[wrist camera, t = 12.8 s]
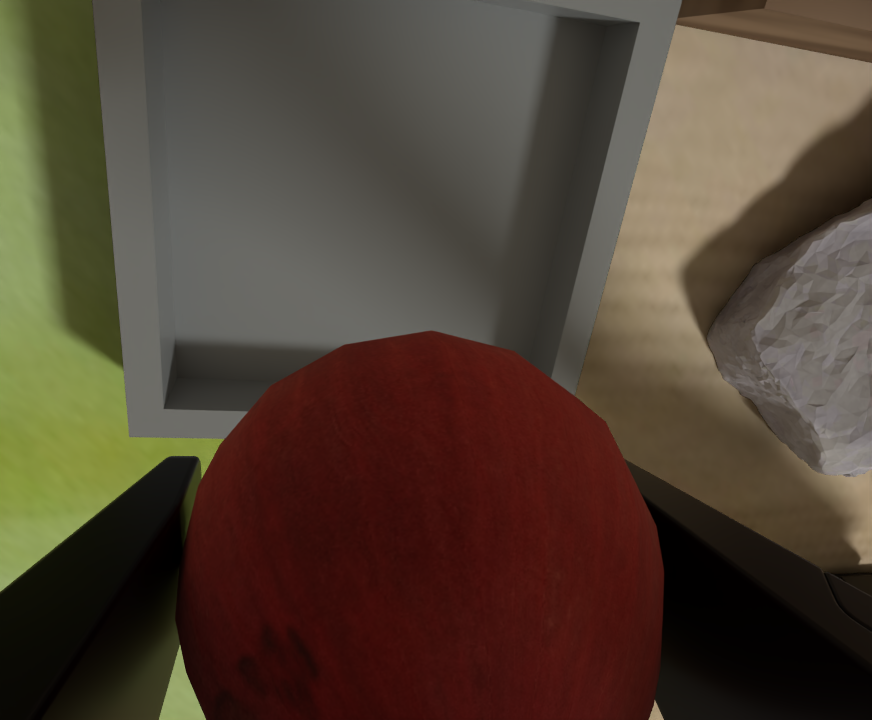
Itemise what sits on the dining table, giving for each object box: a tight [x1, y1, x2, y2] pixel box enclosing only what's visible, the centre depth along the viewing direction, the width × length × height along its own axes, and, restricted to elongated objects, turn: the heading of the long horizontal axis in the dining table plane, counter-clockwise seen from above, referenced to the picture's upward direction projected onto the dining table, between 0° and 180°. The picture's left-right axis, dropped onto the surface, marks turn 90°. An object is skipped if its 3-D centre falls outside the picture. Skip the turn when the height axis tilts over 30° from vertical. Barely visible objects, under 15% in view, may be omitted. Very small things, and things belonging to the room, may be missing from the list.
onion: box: [175, 330, 664, 720], centre depth 8 cm, size 6×6×8 cm
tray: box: [92, 0, 682, 439], centre depth 18 cm, size 14×14×3 cm
